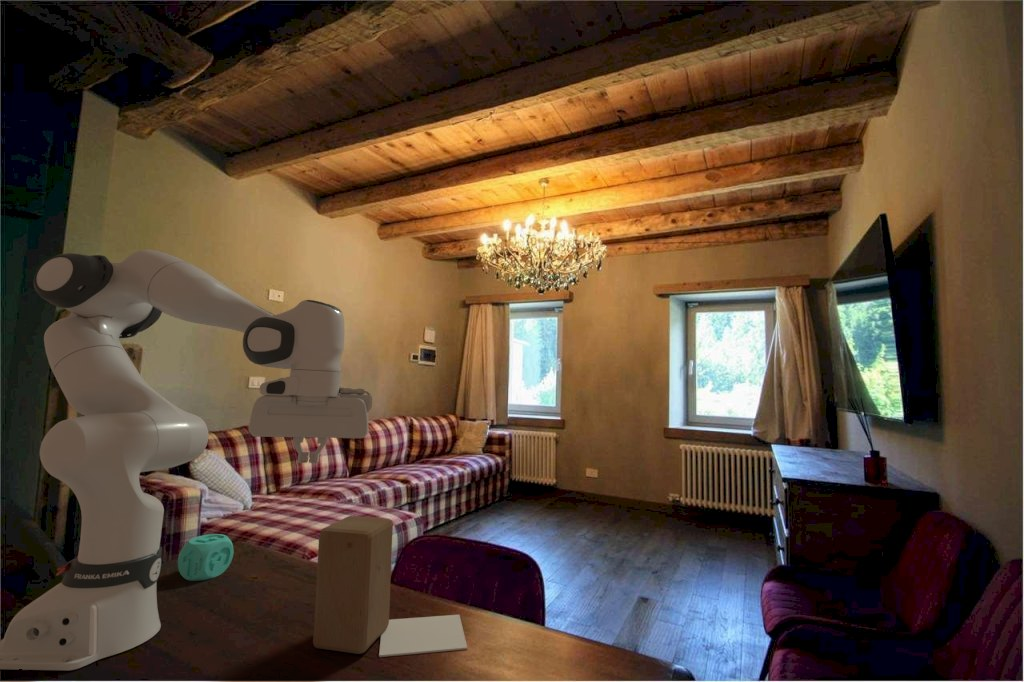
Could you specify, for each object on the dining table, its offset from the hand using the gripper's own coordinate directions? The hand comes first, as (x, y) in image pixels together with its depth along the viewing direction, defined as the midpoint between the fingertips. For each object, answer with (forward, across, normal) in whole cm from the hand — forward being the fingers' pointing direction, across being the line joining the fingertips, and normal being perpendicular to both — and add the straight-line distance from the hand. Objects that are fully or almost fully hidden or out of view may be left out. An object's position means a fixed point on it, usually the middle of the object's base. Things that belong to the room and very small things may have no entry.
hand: (308, 462), depth 83 cm
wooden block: (+31, -10, 0) cm, 33 cm away
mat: (+31, -23, 0) cm, 38 cm away
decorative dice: (+31, +27, -35) cm, 54 cm away
